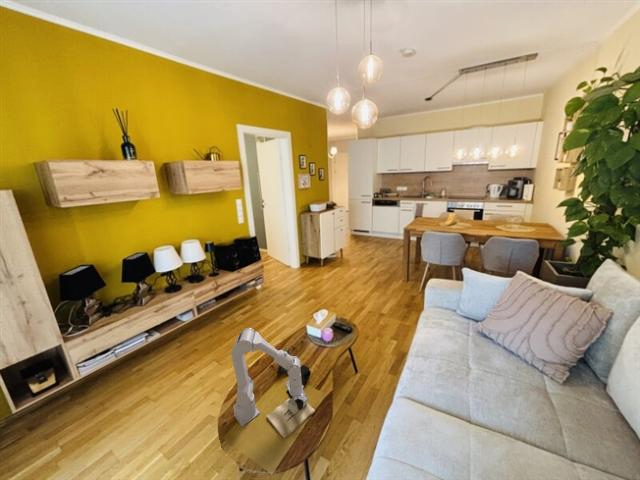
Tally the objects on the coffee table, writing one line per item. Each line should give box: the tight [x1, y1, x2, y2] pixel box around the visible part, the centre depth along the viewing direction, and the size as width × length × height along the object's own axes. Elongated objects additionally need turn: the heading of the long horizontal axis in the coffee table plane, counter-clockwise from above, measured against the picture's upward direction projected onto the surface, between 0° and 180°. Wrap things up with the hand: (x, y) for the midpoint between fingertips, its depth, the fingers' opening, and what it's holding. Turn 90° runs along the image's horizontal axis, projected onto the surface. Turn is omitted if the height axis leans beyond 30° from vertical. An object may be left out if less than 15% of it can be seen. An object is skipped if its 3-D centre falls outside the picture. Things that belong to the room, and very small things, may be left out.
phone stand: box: [277, 348, 292, 374], centre depth 149 cm, size 9×6×12 cm, turn 74°
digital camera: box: [300, 364, 312, 387], centre depth 139 cm, size 10×5×7 cm, turn 151°
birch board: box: [265, 398, 316, 439], centre depth 122 cm, size 18×14×1 cm
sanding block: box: [287, 397, 308, 415], centre depth 124 cm, size 8×4×5 cm, turn 133°
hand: (297, 405), depth 124 cm, fingers closed on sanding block, 4 cm apart
